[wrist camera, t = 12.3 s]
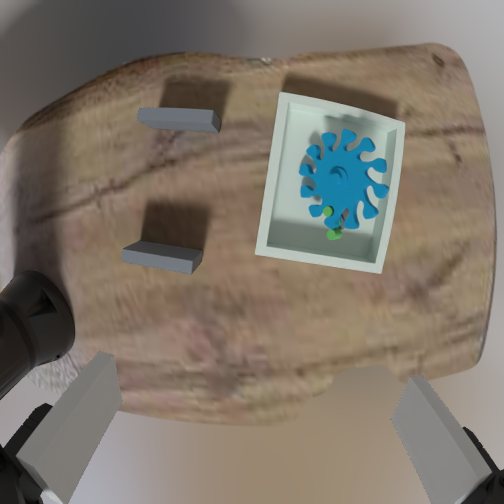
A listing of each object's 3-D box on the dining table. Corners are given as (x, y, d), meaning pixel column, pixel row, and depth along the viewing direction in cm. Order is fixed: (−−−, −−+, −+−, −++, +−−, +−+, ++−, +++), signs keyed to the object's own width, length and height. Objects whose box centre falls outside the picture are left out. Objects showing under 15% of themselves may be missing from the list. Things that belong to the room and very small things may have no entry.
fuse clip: (139, 251, 34) (121, 261, 29) (155, 117, 30) (138, 107, 25) (201, 261, 33) (191, 274, 29) (221, 121, 30) (213, 110, 25)
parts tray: (255, 247, 33) (254, 254, 29) (278, 101, 29) (279, 91, 26) (370, 265, 33) (380, 273, 29) (392, 128, 29) (405, 123, 26)
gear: (303, 122, 27) (393, 136, 21) (334, 132, 31) (412, 148, 24) (285, 223, 31) (365, 257, 24) (316, 220, 35) (388, 249, 28)
